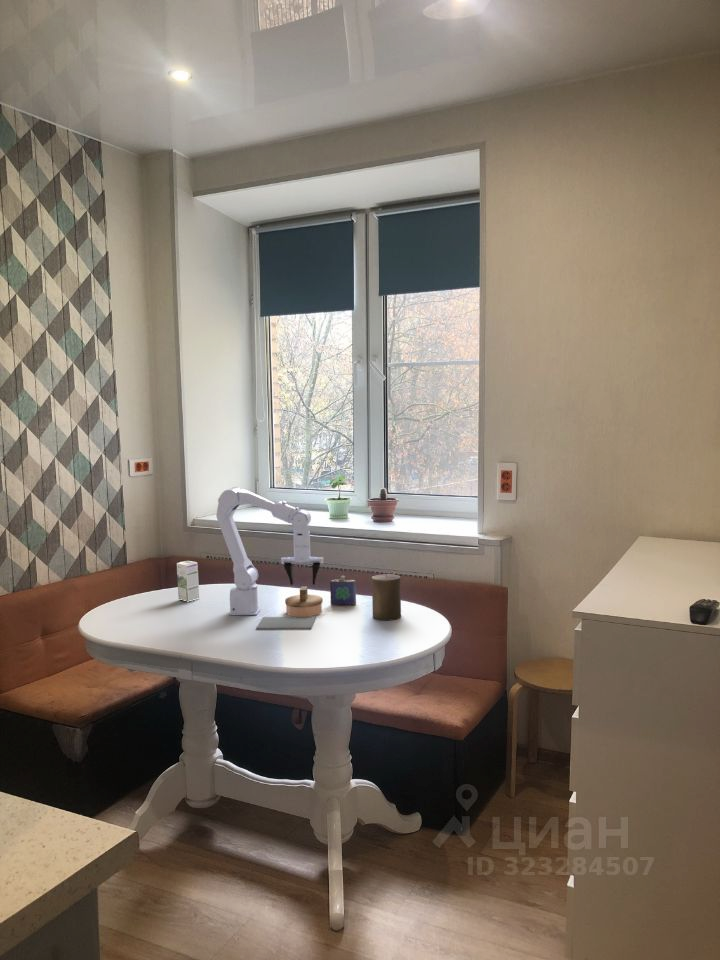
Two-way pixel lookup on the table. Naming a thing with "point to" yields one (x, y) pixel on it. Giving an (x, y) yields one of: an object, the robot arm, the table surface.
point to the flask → (343, 592)
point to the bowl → (304, 610)
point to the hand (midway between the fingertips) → (302, 584)
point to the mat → (286, 623)
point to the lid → (303, 599)
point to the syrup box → (188, 580)
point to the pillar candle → (386, 596)
